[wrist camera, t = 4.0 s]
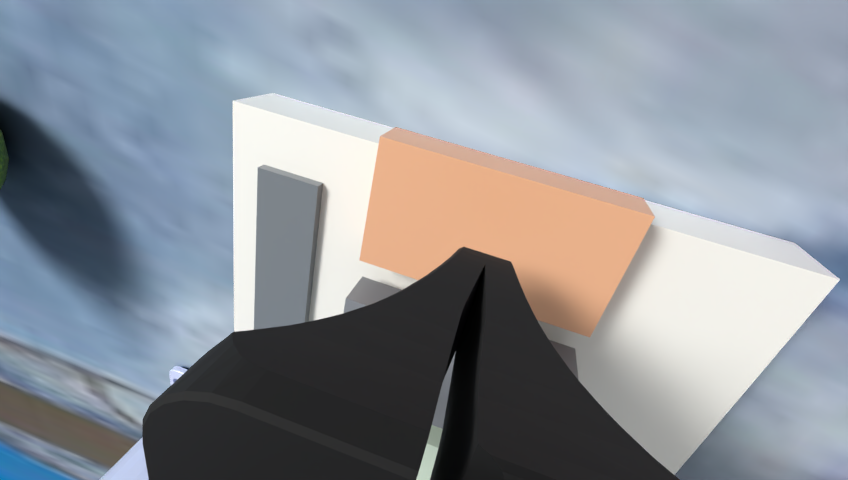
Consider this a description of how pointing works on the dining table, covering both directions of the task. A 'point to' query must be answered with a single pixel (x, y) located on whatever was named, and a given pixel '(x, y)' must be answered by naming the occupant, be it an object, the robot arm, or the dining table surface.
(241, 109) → the white flat slab
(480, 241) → the key terracotta
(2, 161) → the avocado
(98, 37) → the dining table surface
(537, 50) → the dining table surface
